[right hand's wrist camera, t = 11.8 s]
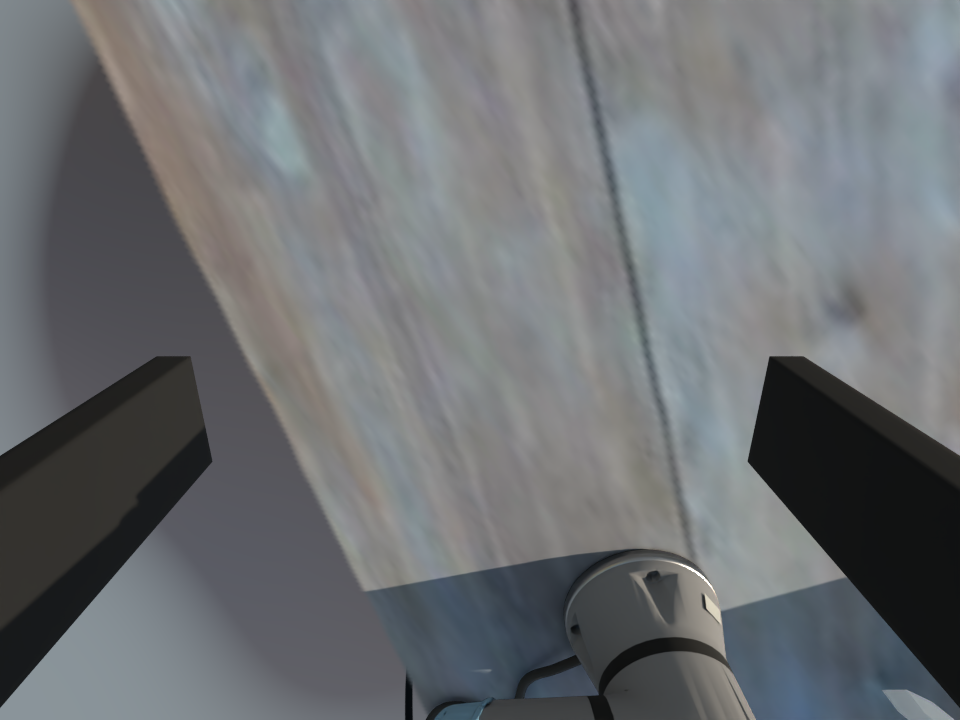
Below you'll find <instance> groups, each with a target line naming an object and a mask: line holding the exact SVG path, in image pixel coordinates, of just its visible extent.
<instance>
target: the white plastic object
mask: <svg viewBox="0 0 960 720" xmlns="http://www.w3.org/2000/svg"><path fill="white" fill-rule="evenodd" d="M882 691H883V692H884V694H885V695H886V696H887V697H888V699H889V700H890V701H891V703H892V704H893V705H894V707H895V708H896V709H897V711H898V712H899V713H901V714H902V715H903V716H904V717H905V718H907V719H908V720H954V719H953V718H952V717H950V716H949V715H948V714H947V713H945V712H944V711H943V710H942V709H940V708H939V707H938V706H937V705H935V704H934V703H933V702H931V701H929V700H927V699H925V698H923V697H921V696H919V695H917V694H914V693H912V692H910V691H908V690H882Z"/></svg>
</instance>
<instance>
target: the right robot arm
mask: <svg viewBox="0 0 960 720" xmlns="http://www.w3.org/2000/svg"><path fill="white" fill-rule="evenodd" d="M211 463H212V457H211V453H210V448H209V443H208V438H207V433H206V429H205V424H204V419H203V414H202V410H201V405H200V400H199V395H198V391H197V386H196V381H195V376H194V371H193V367H192V362H191V357H190V356H187V357H186V356H184V357H183V356H173V357H172V356H164V357H163V356H157V357H155V358H153V359H152V360H150V361H149V362H147V363H146V364H144V365H142V366H141V367H139V368H138V369H136V370H135V371H133V372H131V373H130V374H128V375H127V376H125V377H124V378H122V379H120V380H119V381H117V382H116V383H114V384H112V385H111V386H109V387H108V388H106V389H105V390H103V391H101V392H100V393H98V394H97V395H95V396H94V397H92V398H90V399H89V400H87V401H86V402H84V403H83V404H81V405H80V406H78V407H76V408H75V409H73V410H72V411H70V412H68V413H67V414H65V415H64V416H62V417H61V418H59V419H57V420H56V421H54V422H53V423H51V424H50V425H48V426H46V427H45V428H43V429H42V430H40V431H39V432H37V433H35V434H34V435H32V436H31V437H29V438H28V439H26V440H24V441H23V442H21V443H20V444H18V445H17V446H15V447H13V448H12V449H10V450H9V451H7V452H6V453H4V454H2V455H1V456H0V707H1V706H2V705H3V704H4V703H5V702H6V700H7V699H8V698H9V697H10V696H11V695H12V693H13V692H14V691H15V690H16V689H17V688H18V686H19V685H20V684H21V683H22V682H23V681H24V680H25V678H26V677H27V676H28V675H29V674H30V673H31V671H32V670H33V669H34V668H35V667H36V666H37V664H38V663H39V662H40V661H41V660H42V659H43V657H44V656H45V655H46V654H47V653H48V652H49V651H50V649H51V648H52V647H53V646H54V645H55V644H56V642H57V641H58V640H59V639H60V638H61V637H62V635H63V634H64V633H65V632H66V631H67V630H68V628H69V627H70V626H71V625H72V624H73V623H74V622H75V620H76V619H77V618H78V617H79V616H80V615H81V613H82V612H83V611H84V610H85V609H86V608H87V606H88V605H89V604H90V603H91V602H92V601H93V599H94V598H95V597H96V596H97V595H98V594H99V593H100V591H101V590H102V589H103V588H104V587H105V585H106V584H107V583H108V582H109V581H110V580H111V579H112V577H113V576H114V575H115V574H116V573H117V572H118V570H119V569H120V568H121V567H122V566H123V565H124V563H125V562H126V561H127V560H128V559H129V558H130V556H131V555H132V554H133V553H134V552H135V551H136V549H137V548H138V547H139V546H140V545H141V544H142V543H143V541H144V540H145V539H146V538H147V537H148V536H149V534H150V533H151V532H152V531H153V530H154V529H155V528H156V526H157V525H158V524H159V523H160V522H161V521H162V519H163V518H164V517H165V516H166V515H167V514H168V512H169V511H170V510H171V509H172V508H173V507H174V505H175V504H176V503H177V502H178V501H179V500H180V499H181V497H182V496H183V495H184V494H185V493H186V492H187V490H188V489H189V488H190V487H191V486H192V485H193V483H194V482H195V481H196V480H197V479H198V478H199V476H200V475H201V474H202V473H203V472H204V471H205V470H206V468H207V467H208V466H209V465H210V464H211ZM748 463H749V464H750V465H751V466H752V467H753V468H754V470H755V471H756V472H757V473H758V474H759V475H760V476H761V478H762V479H763V480H764V481H765V482H766V483H767V485H768V486H769V487H770V488H771V489H772V490H773V492H774V493H775V494H776V495H777V496H778V497H779V499H780V500H781V501H782V502H783V503H784V504H785V505H786V507H787V508H788V509H789V510H790V511H791V512H792V514H793V515H794V516H795V517H796V518H797V519H798V521H799V522H800V523H801V524H802V525H803V526H804V528H805V529H806V530H807V531H808V532H809V533H810V534H811V536H812V537H813V538H814V539H815V540H816V541H817V543H818V544H819V545H820V546H821V547H822V548H823V550H824V551H825V552H826V553H827V554H828V555H829V557H830V558H831V559H832V560H833V561H834V562H835V564H836V565H837V566H838V567H839V568H840V569H841V570H842V572H843V573H844V574H845V575H846V576H847V577H848V579H849V580H850V581H851V582H852V583H853V584H854V586H855V587H856V588H857V589H858V590H859V591H860V593H861V594H862V595H863V596H864V597H865V598H866V599H867V601H868V602H869V603H870V604H871V605H872V606H873V608H874V609H875V610H876V611H877V612H878V613H879V615H880V616H881V617H882V618H883V619H884V620H885V622H886V623H887V624H888V625H889V626H890V627H891V628H892V630H893V631H894V632H895V633H896V634H897V635H898V637H899V638H900V639H901V640H902V641H903V642H904V644H905V645H906V646H907V647H908V648H909V649H910V651H911V652H912V653H913V654H914V655H915V656H916V657H917V659H918V660H919V661H920V662H921V663H922V664H923V666H924V667H925V668H926V669H927V670H928V671H929V673H930V674H931V675H932V676H933V677H934V678H935V680H936V681H937V682H938V683H939V684H940V685H941V687H942V688H943V689H944V690H945V691H946V692H947V693H948V695H949V696H950V697H951V698H952V699H953V700H954V702H955V703H956V704H957V705H958V706H959V707H960V456H959V455H958V454H956V453H955V452H953V451H951V450H950V449H948V448H947V447H945V446H943V445H942V444H940V443H939V442H937V441H936V440H934V439H932V438H931V437H929V436H928V435H926V434H925V433H923V432H921V431H920V430H918V429H917V428H915V427H914V426H912V425H910V424H909V423H907V422H906V421H904V420H903V419H901V418H899V417H898V416H896V415H895V414H893V413H892V412H890V411H888V410H887V409H885V408H884V407H882V406H881V405H879V404H877V403H876V402H874V401H873V400H871V399H870V398H868V397H866V396H865V395H863V394H862V393H860V392H859V391H857V390H855V389H854V388H852V387H851V386H849V385H848V384H846V383H844V382H843V381H841V380H840V379H838V378H836V377H835V376H833V375H832V374H830V373H829V372H827V371H825V370H824V369H822V368H821V367H819V366H818V365H816V364H814V363H813V362H811V361H810V360H808V359H807V358H805V357H803V356H770V357H769V362H768V367H767V371H766V376H765V381H764V386H763V390H762V395H761V400H760V405H759V410H758V414H757V419H756V424H755V429H754V433H753V438H752V443H751V448H750V453H749V457H748ZM564 621H565V627H566V632H567V636H568V639H569V641H570V644H571V646H572V649H573V650H574V652H575V654H576V655H575V656H572V657H570V658H568V659H565V660H563V661H560V662H558V663H555V664H553V665H550V666H546V667H542V668H538V669H535V670H533V671H531V672H529V673H527V674H526V675H525V676H524V677H523V678H522V679H521V680H520V682H519V685H518V688H517V691H516V696H515V699H503V700H496V699H494V698H487V699H485V700H483V701H481V702H473V703H466V702H459V701H452V702H446V703H443V704H441V705H439V706H437V707H436V708H435V709H433V710H432V711H431V713H430V714H429V715H428V717H427V718H426V720H756V719H755V717H754V715H753V713H752V711H751V709H750V707H749V705H748V703H747V701H746V699H745V697H744V695H743V693H742V691H741V689H740V686H739V684H738V682H737V680H736V679H735V677H734V675H733V672H732V670H731V668H730V666H729V664H728V662H727V660H726V653H725V644H724V635H723V627H722V618H721V610H720V606H719V603H718V599H717V596H716V594H715V592H714V590H713V588H712V586H711V584H710V582H709V580H708V579H707V577H706V576H705V574H704V573H703V572H702V571H701V570H700V569H699V568H698V567H697V566H696V565H695V564H693V563H692V562H690V561H689V560H687V559H685V558H683V557H681V556H678V555H676V554H673V553H669V552H665V551H659V550H635V551H628V552H623V553H620V554H616V555H613V556H611V557H608V558H606V559H604V560H602V561H600V562H598V563H596V564H595V565H593V566H592V567H590V568H589V569H588V570H586V571H585V572H584V573H583V574H582V575H581V576H580V577H579V578H578V579H577V580H576V581H575V583H574V584H573V586H572V587H571V589H570V591H569V592H568V595H567V597H566V601H565V605H564ZM581 664H582V666H583V667H584V669H585V671H586V672H587V674H588V676H589V677H590V679H591V681H592V683H593V684H594V686H595V688H596V689H597V691H598V694H599V695H598V696H574V697H556V698H529V699H524V696H525V692H526V689H527V687H528V686H529V685H530V684H531V683H532V682H534V681H535V680H538V679H540V678H544V677H548V676H552V675H555V674H558V673H561V672H563V671H566V670H568V669H571V668H573V667H576V666H578V665H581ZM405 720H413V684H412V682H411V680H410V678H409V676H408V674H407V672H406V683H405Z"/></svg>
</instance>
